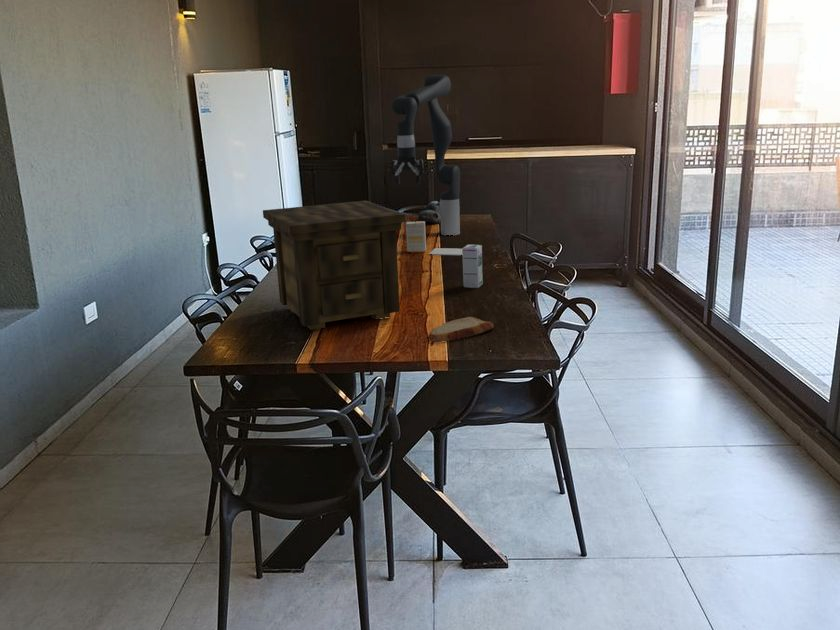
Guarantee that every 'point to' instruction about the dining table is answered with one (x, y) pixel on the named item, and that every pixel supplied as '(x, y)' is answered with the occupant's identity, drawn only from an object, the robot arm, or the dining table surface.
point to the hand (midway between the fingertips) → (408, 184)
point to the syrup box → (472, 266)
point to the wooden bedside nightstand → (337, 260)
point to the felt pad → (446, 251)
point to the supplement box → (416, 236)
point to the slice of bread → (459, 329)
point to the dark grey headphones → (431, 213)
